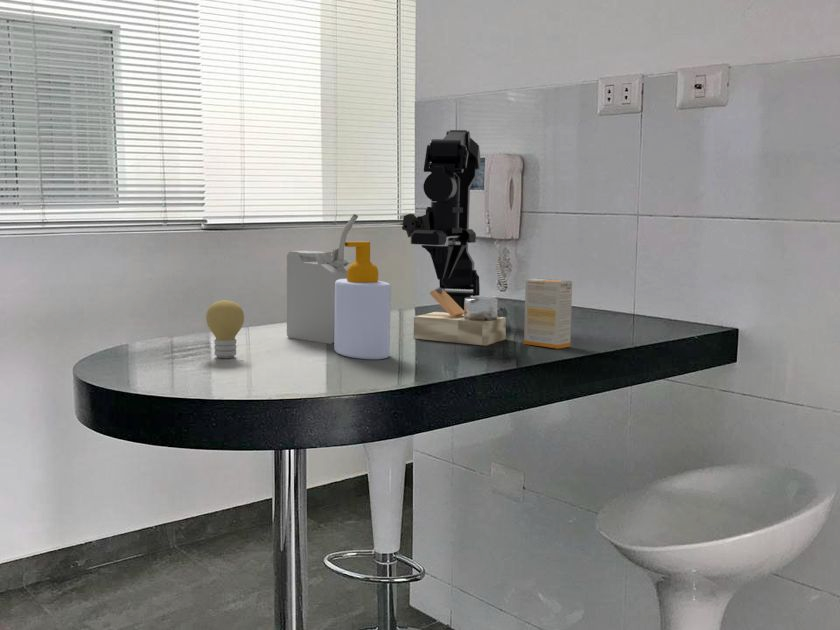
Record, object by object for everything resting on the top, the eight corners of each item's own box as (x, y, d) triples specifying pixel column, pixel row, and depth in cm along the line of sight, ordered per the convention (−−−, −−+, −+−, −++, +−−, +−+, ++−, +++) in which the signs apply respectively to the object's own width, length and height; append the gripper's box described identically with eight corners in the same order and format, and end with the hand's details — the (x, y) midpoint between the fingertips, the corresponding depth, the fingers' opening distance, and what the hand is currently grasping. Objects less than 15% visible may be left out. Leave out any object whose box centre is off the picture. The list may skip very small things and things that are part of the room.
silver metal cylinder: (471, 334, 184) (472, 296, 183) (501, 337, 181) (502, 298, 180) (458, 338, 178) (459, 299, 177) (488, 341, 175) (489, 301, 174)
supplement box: (571, 347, 174) (574, 280, 172) (557, 349, 171) (560, 281, 169) (536, 341, 180) (539, 277, 178) (522, 344, 176) (524, 278, 174)
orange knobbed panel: (463, 315, 183) (467, 309, 183) (452, 317, 179) (457, 311, 178) (438, 290, 185) (443, 284, 185) (428, 292, 181) (432, 286, 180)
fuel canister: (360, 342, 174) (361, 214, 171) (343, 345, 170) (344, 214, 167) (304, 334, 183) (304, 212, 180) (286, 337, 179) (286, 212, 176)
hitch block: (435, 332, 190) (435, 311, 189) (505, 339, 182) (506, 317, 182) (413, 338, 181) (413, 316, 180) (486, 345, 173) (486, 322, 173)
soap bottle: (323, 350, 164) (323, 240, 161) (360, 347, 169) (361, 240, 166) (363, 362, 153) (364, 243, 151) (401, 357, 158) (403, 243, 156)
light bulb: (225, 361, 151) (225, 303, 149) (198, 357, 154) (198, 300, 153) (251, 356, 156) (251, 300, 155) (225, 353, 159) (224, 297, 158)
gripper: (430, 202, 192) (428, 274, 194) (387, 201, 175) (386, 279, 177) (477, 202, 187) (475, 277, 189) (438, 202, 170) (436, 283, 172)
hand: (443, 279), depth 182 cm, fingers open, 3 cm apart
